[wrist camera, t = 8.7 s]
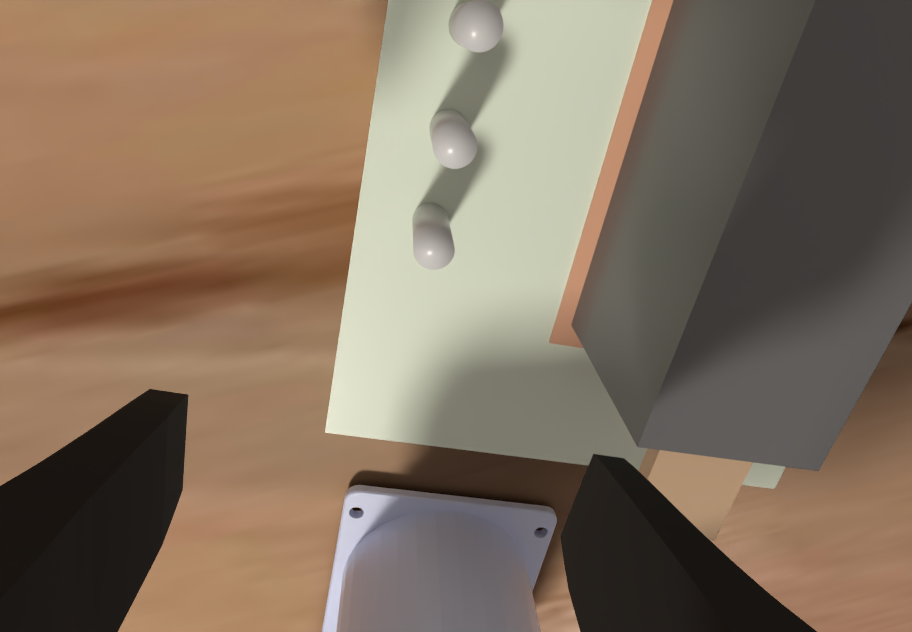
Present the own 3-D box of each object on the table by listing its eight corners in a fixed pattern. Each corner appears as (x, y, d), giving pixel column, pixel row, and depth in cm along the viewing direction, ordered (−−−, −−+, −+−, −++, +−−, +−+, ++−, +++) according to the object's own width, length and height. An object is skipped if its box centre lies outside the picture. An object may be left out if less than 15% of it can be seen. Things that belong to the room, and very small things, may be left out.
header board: (753, 462, 24) (815, 541, 20) (330, 406, 21) (314, 484, 18) (1023, -81, 17) (1195, -109, 13) (428, -258, 14) (435, -354, 11)
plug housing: (671, 424, 21) (764, 567, 15) (545, 407, 20) (596, 550, 15) (851, -5, 16) (1089, -18, 10) (688, -48, 15) (849, -86, 9)
